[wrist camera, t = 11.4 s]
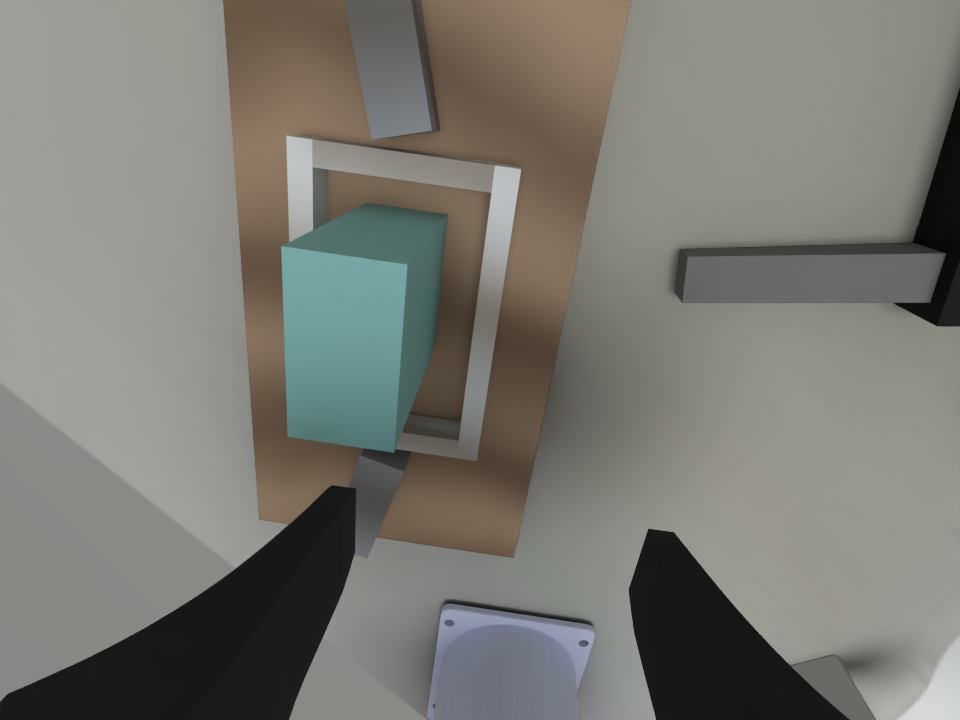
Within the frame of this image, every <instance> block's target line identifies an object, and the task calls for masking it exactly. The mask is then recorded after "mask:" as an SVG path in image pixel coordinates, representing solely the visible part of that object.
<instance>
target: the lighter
mask: <svg viewBox="0 0 960 720" xmlns="http://www.w3.org/2000/svg"><path fill="white" fill-rule="evenodd" d="M791 667H792V668H793V669H794V670H795V671H796V672H798V673H799V674H800V675H801V676H802V677H803V678H804V679H805V680H806V681H807V682H808V683H809V684H810V685H811V686H812V687H813V688H814V689H815V690H816V691H818V692H819V693H820V694H821V695H822V696H823V697H824V698H825V699H826V700H828V701H829V702H830V703H831V704H832V705H833V706H834V707H836V708H837V709H838V710H839V711H840V712H841V713H843V714H844V715H845V716H846V717H847V718H848V719H850V720H876V719H875V717H874V715H873V714H872V712H871V710H870V709H869V707H868V705H867V704H866V702H865V700H864V699H863V697H862V695H861V694H860V692H859V690H858V689H857V687H856V685H855V684H854V682H853V680H852V679H851V677H850V675H849V674H848V672H847V670H846V669H845V667H844V665H843V664H842V662H841V660H840V659H839V657H838V656H836V655H830V656H826V657H823V658H819V659H815V660H811V661H807V662H804V663H800V664H796V665H792V666H791Z"/></svg>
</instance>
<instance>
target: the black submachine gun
mask: <svg viewBox="0 0 960 720" xmlns="http://www.w3.org/2000/svg"><path fill="white" fill-rule="evenodd" d="M675 293H676V295H677V296H678V297H679V299H680V300H681V302H682V303H894V304H896V305H898V306H900V307H902V308H903V309H905V310H907V311H909V312H911V313H913V314H915V315H917V316H919V317H921V318H922V319H924V320H926V321H928V322H930V323H932V324H934V325H936V326H960V89H959V92H958V96H957V99H956V102H955V106H954V109H953V112H952V116H951V119H950V122H949V126H948V129H947V132H946V136H945V139H944V142H943V146H942V149H941V152H940V155H939V159H938V162H937V165H936V169H935V172H934V175H933V179H932V182H931V185H930V189H929V192H928V195H927V199H926V202H925V205H924V208H923V212H922V215H921V218H920V222H919V225H918V227H917V230H916V233H915V237H914V240H913V243H877V244H842V245H807V246H771V247H736V248H701V249H680V255H679V264H678V273H677V281H676V290H675Z"/></svg>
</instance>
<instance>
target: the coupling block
mask: <svg viewBox="0 0 960 720" xmlns="http://www.w3.org/2000/svg"><path fill="white" fill-rule="evenodd" d="M447 220H448V214H442V213H435V212H428V211H421V210H414V209H407V208H401V207H394V206H387V205H380V204H373V203H366V204H364V205H362V206H360V207H358V208H356V209H354V210H352V211H350V212H348V213H346V214H344V215H342V216H340V217H338V218H336V219H334V220H332V221H330V222H328V223H326V224H324V225H322V226H320V227H318V228H316V229H314V230H312V231H310V232H308V233H306V234H304V235H302V236H300V237H298V238H296V239H294V240H292V241H290V242H289V243H287V244H285V245H283V246H281V254H282V284H283V313H284V343H285V373H286V402H287V432H288V437H292V438H299V439H306V440H312V441H319V442H326V443H332V444H339V445H346V446H352V447H359V448H366V449H372V450H379V451H386V452H392V453H394V451H395V449H396V446H397V444H398V441H399V438H400V436H401V433H402V431H403V428H404V425H405V423H406V420H407V418H408V415H409V412H410V410H411V407H412V405H413V402H414V399H415V397H416V394H417V392H418V389H419V386H420V384H421V381H422V379H423V376H424V373H425V371H426V368H427V366H428V363H429V360H430V358H431V355H432V353H433V350H434V347H435V338H436V328H437V318H438V308H439V298H440V289H441V279H442V269H443V259H444V249H445V239H446V229H447Z"/></svg>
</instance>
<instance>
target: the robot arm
mask: <svg viewBox="0 0 960 720" xmlns="http://www.w3.org/2000/svg"><path fill="white" fill-rule="evenodd" d="M355 534H356V488H349V487H342V486H335V485H331V486H330V487H328V488H327V489H326V490H325V491H324V492H323V493H322V494H321V495H320V496H319V497H318V498H317V499H316V500H315V501H314V502H313V503H312V504H311V505H310V506H308V507H307V508H306V509H305V510H304V511H303V512H302V513H301V514H300V515H299V516H298V517H297V518H296V519H295V520H293V521H292V522H291V523H290V524H289V525H288V526H287V527H286V528H284V529H283V530H282V531H281V532H280V533H279V534H278V535H276V536H275V537H274V538H273V539H272V540H271V541H270V542H268V543H267V544H266V545H265V546H264V547H262V548H261V549H260V550H259V551H257V552H256V553H255V554H254V555H252V556H251V557H250V558H249V559H247V560H246V561H245V562H244V563H242V564H241V565H240V566H239V567H237V568H236V569H235V570H234V571H232V572H231V573H229V574H228V575H227V576H225V577H224V578H223V579H221V580H220V581H218V582H217V583H216V584H214V585H213V586H211V587H210V588H208V589H207V590H205V591H204V592H203V593H201V594H200V595H198V596H197V597H195V598H194V599H192V600H191V601H189V602H187V603H186V604H184V605H182V606H181V607H179V608H178V609H176V610H174V611H173V612H171V613H170V614H168V615H166V616H165V617H163V618H161V619H160V620H158V621H156V622H154V623H153V624H151V625H149V626H148V627H147V628H144V629H142V630H141V631H139V632H137V633H135V634H134V635H131V636H130V637H128V638H126V639H124V640H122V641H121V642H118V643H117V644H115V645H113V646H111V647H109V648H107V649H105V650H103V651H101V652H99V653H97V654H95V655H93V656H91V657H89V658H87V659H85V660H83V661H81V662H79V663H76V664H74V665H72V666H70V667H68V668H66V669H63V670H61V671H59V672H57V673H54V674H52V675H50V676H48V677H45V678H43V679H41V680H39V681H36V682H34V683H32V684H30V685H27V686H25V687H23V688H21V689H18V690H16V691H14V692H11V693H9V694H7V695H6V696H5V697H4V698H3V700H2V701H0V720H289V718H290V715H291V712H292V709H293V706H294V703H295V700H296V698H297V696H298V693H299V691H300V688H301V686H302V683H303V681H304V678H305V676H306V674H307V671H308V669H309V667H310V665H311V662H312V660H313V658H314V656H315V653H316V651H317V649H318V647H319V644H320V642H321V640H322V638H323V635H324V633H325V631H326V629H327V626H328V624H329V622H330V620H331V617H332V615H333V613H334V610H335V608H336V606H337V603H338V601H339V599H340V597H341V594H342V592H343V589H344V586H345V583H346V580H347V577H348V573H349V570H350V567H351V563H352V560H353V557H354V554H355ZM629 596H630V604H631V613H632V620H633V627H634V633H635V637H636V642H637V646H638V650H639V654H640V658H641V662H642V666H643V670H644V673H645V677H646V681H647V685H648V689H649V693H650V697H651V701H652V705H653V708H654V712H655V716H656V720H850V719H848V718H847V717H846V716H845V715H844V714H843V713H841V712H840V711H839V710H838V709H837V708H836V707H834V706H833V705H832V704H831V703H830V702H829V701H828V700H826V699H825V698H824V697H823V696H822V695H821V694H820V693H819V692H818V691H816V690H815V689H814V688H813V687H812V686H811V685H810V684H809V683H808V682H807V681H806V680H805V679H804V678H803V677H802V676H801V675H800V674H799V673H798V672H796V671H795V670H794V669H793V668H792V667H791V666H790V665H789V664H788V663H787V662H786V661H785V660H784V659H783V658H782V657H781V656H780V655H779V654H778V653H777V652H776V651H775V650H774V649H773V648H772V647H771V646H770V645H769V644H768V643H767V641H766V640H765V639H764V638H763V637H762V636H761V635H760V634H759V633H758V632H757V631H756V630H755V629H754V628H753V626H752V625H751V624H750V623H749V622H748V621H747V620H746V619H745V618H744V617H743V615H742V614H741V613H740V612H739V611H738V610H737V609H736V607H735V606H734V605H733V604H732V603H731V602H730V601H729V599H728V598H727V597H726V596H725V595H724V593H723V592H722V591H721V590H720V589H719V587H718V586H717V585H716V584H715V583H714V581H713V580H712V579H711V578H710V577H709V575H708V574H707V573H706V572H705V570H704V569H703V568H702V567H701V565H700V564H699V563H698V562H697V561H696V559H695V558H694V557H693V556H692V554H691V553H690V552H689V551H688V549H687V548H686V547H685V546H684V544H683V543H682V542H681V541H680V539H679V538H678V537H677V536H676V535H675V533H674V532H668V531H660V530H653V529H648V532H647V535H646V538H645V541H644V544H643V547H642V550H641V554H640V557H639V560H638V563H637V566H636V569H635V572H634V575H633V578H632V581H631V584H630V587H629ZM594 640H595V630H594V628H593V627H592V626H591V625H588V624H582V623H576V622H569V621H562V620H556V619H549V618H543V617H536V616H529V615H523V614H516V613H510V612H503V611H496V610H490V609H483V608H477V607H470V606H464V605H457V604H446V605H444V606H443V607H442V610H441V617H440V624H439V631H438V638H437V646H436V653H435V660H434V667H433V674H432V682H431V689H430V696H429V703H428V711H427V717H428V718H429V720H580V716H579V706H578V696H577V691H578V688H579V685H580V682H581V679H582V676H583V673H584V670H585V667H586V664H587V661H588V658H589V655H590V652H591V649H592V646H593V643H594Z"/></svg>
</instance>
